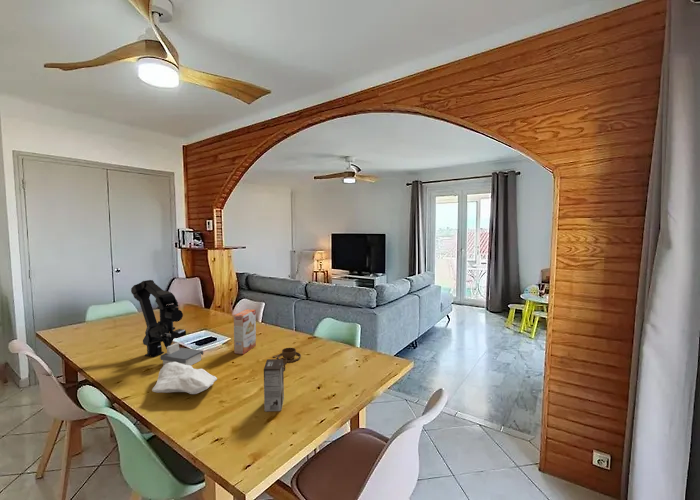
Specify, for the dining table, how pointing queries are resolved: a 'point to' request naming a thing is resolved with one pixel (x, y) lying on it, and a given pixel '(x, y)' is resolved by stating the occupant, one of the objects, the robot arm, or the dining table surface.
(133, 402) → the dining table surface
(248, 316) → the cracker box
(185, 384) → the crumpled cloth
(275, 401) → the coffee box
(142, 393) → the dining table surface
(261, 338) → the dining table surface
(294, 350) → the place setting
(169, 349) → the lid
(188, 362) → the tray
